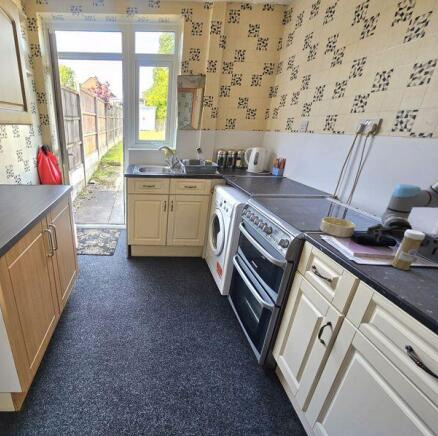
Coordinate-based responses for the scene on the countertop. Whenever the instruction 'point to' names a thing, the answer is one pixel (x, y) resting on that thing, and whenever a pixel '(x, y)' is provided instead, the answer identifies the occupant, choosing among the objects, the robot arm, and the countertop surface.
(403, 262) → the sprinkles bottle
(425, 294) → the countertop surface
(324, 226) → the beige round bowl
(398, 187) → the robot arm
